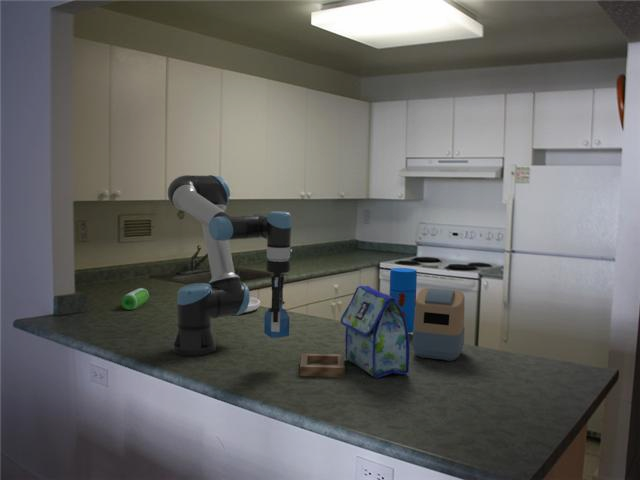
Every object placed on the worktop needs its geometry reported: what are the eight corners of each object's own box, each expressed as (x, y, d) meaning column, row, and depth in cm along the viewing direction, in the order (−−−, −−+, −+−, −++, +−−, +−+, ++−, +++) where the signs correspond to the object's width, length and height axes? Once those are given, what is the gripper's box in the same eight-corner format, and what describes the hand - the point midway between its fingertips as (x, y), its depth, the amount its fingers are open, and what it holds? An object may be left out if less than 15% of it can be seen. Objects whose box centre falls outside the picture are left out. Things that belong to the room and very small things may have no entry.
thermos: (413, 333, 244) (416, 272, 241) (387, 332, 246) (389, 271, 243) (415, 327, 254) (417, 268, 252) (389, 325, 257) (391, 267, 254)
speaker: (135, 302, 293) (135, 287, 292) (150, 302, 292) (149, 287, 291) (120, 310, 275) (120, 294, 274) (135, 311, 275) (135, 294, 274)
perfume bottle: (271, 338, 195) (272, 301, 194) (264, 333, 201) (265, 297, 199) (289, 336, 198) (290, 300, 197) (281, 331, 204) (282, 296, 202)
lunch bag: (337, 360, 208) (338, 285, 205) (379, 355, 214) (381, 282, 211) (367, 381, 187) (369, 298, 184) (413, 375, 194) (416, 295, 191)
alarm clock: (409, 358, 211) (412, 293, 209) (419, 346, 227) (421, 285, 224) (458, 364, 206) (461, 297, 203) (464, 351, 221) (467, 288, 219)
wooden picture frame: (300, 375, 191) (300, 366, 191) (302, 362, 205) (302, 353, 205) (344, 377, 191) (344, 367, 191) (343, 363, 205) (343, 354, 205)
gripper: (287, 265, 186) (285, 337, 189) (292, 254, 207) (290, 319, 210) (263, 264, 186) (261, 336, 189) (270, 254, 207) (268, 318, 210)
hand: (276, 327), depth 199 cm, fingers closed on perfume bottle, 8 cm apart
